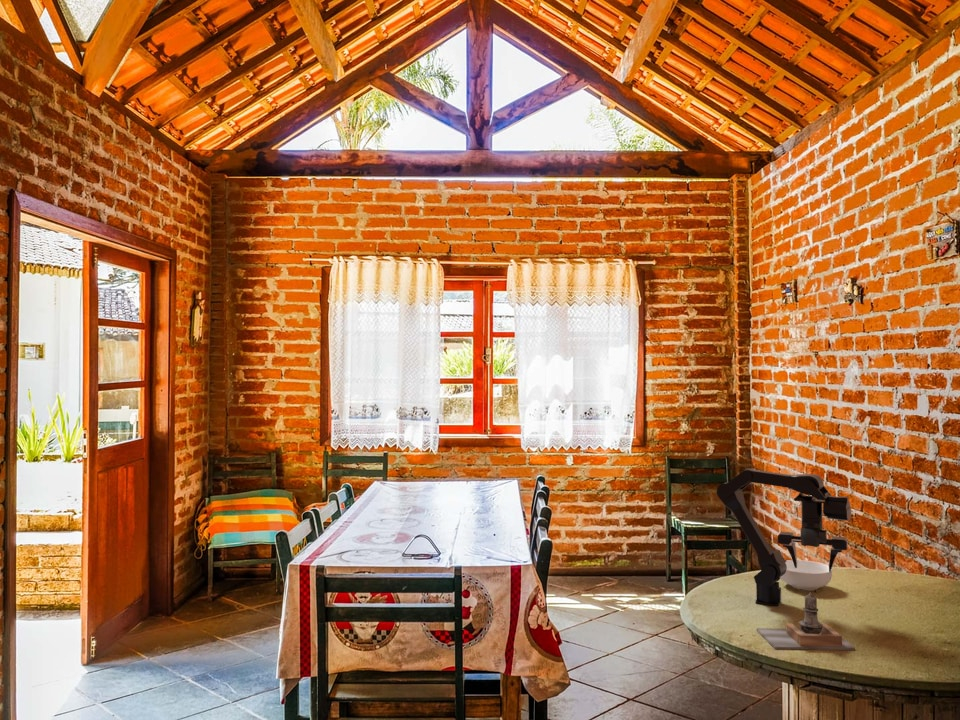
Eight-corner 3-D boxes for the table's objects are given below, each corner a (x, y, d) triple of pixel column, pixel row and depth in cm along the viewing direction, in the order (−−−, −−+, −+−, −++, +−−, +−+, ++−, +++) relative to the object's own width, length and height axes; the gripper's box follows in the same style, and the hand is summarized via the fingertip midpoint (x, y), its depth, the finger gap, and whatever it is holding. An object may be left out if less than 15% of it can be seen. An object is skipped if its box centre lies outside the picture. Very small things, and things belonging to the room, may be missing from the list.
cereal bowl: (765, 583, 249) (765, 562, 249) (802, 578, 255) (802, 557, 255) (806, 597, 233) (805, 574, 233) (844, 591, 240) (843, 569, 240)
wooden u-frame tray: (756, 630, 201) (756, 619, 201) (831, 631, 200) (831, 620, 200) (774, 648, 187) (774, 636, 187) (855, 650, 186) (854, 637, 186)
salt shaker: (820, 643, 190) (819, 596, 190) (796, 638, 193) (795, 592, 194) (826, 636, 194) (825, 590, 195) (802, 632, 198) (801, 587, 198)
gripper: (774, 518, 217) (775, 571, 217) (845, 524, 208) (846, 580, 208) (779, 512, 227) (780, 563, 227) (847, 518, 218) (848, 571, 217)
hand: (812, 569), depth 219 cm, fingers open, 9 cm apart
